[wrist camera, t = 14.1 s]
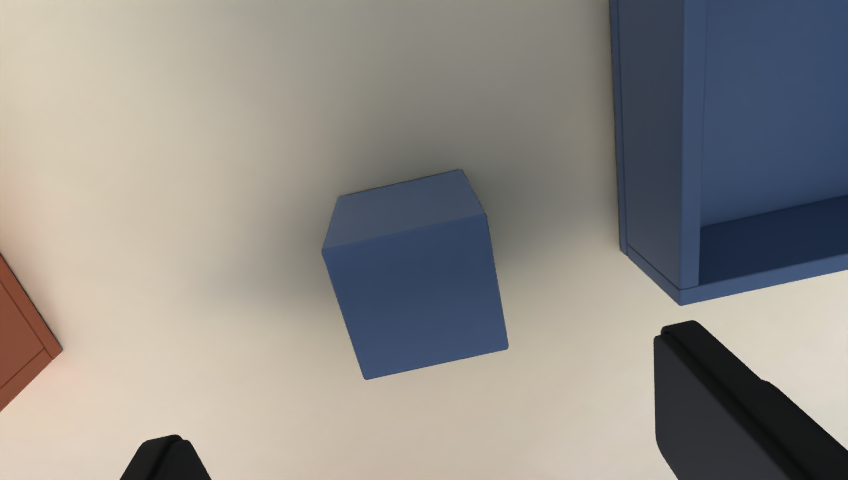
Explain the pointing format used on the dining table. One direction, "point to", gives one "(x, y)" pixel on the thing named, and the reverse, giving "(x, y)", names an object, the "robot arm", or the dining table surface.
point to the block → (415, 274)
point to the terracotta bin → (20, 339)
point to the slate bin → (731, 141)
